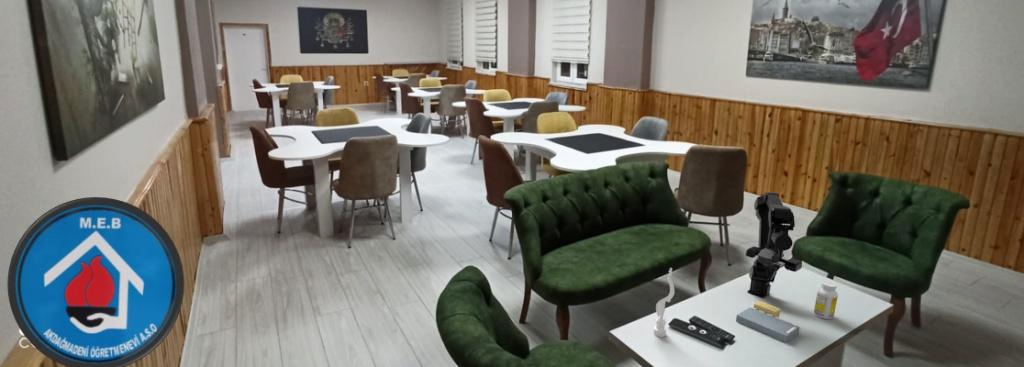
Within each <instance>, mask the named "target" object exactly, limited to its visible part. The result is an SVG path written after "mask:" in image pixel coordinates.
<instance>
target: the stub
mask: <svg viewBox="0 0 1024 367" xmlns="http://www.w3.org/2000/svg"><path fill="white" fill-rule="evenodd" d="M753 308H755V309H756V310H760V311H763V312H764V313H766V314H770V315H773V316H774V317H778V318H780V315H781V308H779V307H776V306H774V305H771V304H769V303H766V302H763V301H760V300H758V301H757V302H755V303H754V304H753Z"/></svg>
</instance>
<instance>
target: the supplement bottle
mask: <svg viewBox="0 0 1024 367" xmlns="http://www.w3.org/2000/svg"><path fill="white" fill-rule="evenodd" d="M838 297H839V293H838V291H837V284H836V283H835V282H832V281H829V280H828V281H827V280H826V281H822V282H821V287H819V288H818V289H817V293H816V297H815V304H814V308H813V314H814V315H815V316H816V317H818V318H821V319H825V320H832V319H833V318H834V317H835V313H836V307H837V302H838Z"/></svg>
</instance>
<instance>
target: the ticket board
mask: <svg viewBox="0 0 1024 367" xmlns="http://www.w3.org/2000/svg"><path fill="white" fill-rule="evenodd" d="M735 321H736V322H737V323H739V324H742V325H744V326H747V327H749V328H751V329H754V330H756V331H758V332H761V333H763V334H765V335H768V336H770V337H771V338H774V339H777V340H780V341H781V342H784V343H787V342H788V341H790V340H791V339H792V338H794V337H795V336H797V335H798V334H800V333H799V332H800V328H801V327H800V326H799V325H797V324H795V323H791V322H790V321H788V320H785V319H781V318H780V317H779V318H778V317H774V316H773V315H770V314H766V313H764V312H763V311H760V310H756V309H755V308H754V306H749V307H748V308H746V309H744V310H742V311H741V312H739V313H738V314H736V318H735Z"/></svg>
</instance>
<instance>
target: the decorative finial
mask: <svg viewBox="0 0 1024 367" xmlns="http://www.w3.org/2000/svg"><path fill="white" fill-rule="evenodd" d="M672 275H673V268H672V267H670V268H669V270H668V275H667V276H666V277H667V278H666V279H667V282H668V286H669V293H668V295H667V296H666V297H664V298H661V299H660V300H658V301H657V303H656V304H655V311H656V315H657V318H655V323H656V325H655V326H654V327H653V335H655V336H657V337H659V338H660V337H661V338H663V337H666V336H667V328H666V327H665V326H666V324H667V320H666V318H664V314H665V313H666V312H665V310H666V302H667V303H670V302H672V298H673V297H674V295H675V286H674V283H673V280H672Z"/></svg>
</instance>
